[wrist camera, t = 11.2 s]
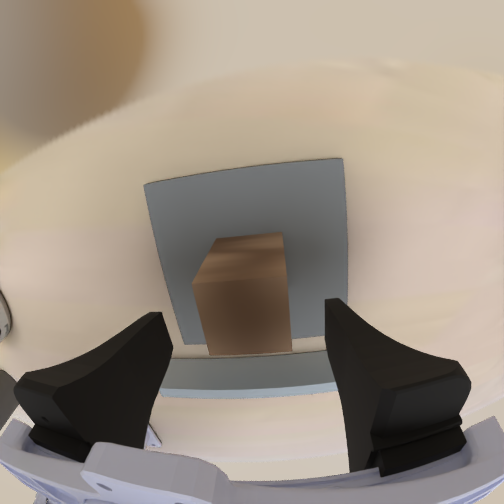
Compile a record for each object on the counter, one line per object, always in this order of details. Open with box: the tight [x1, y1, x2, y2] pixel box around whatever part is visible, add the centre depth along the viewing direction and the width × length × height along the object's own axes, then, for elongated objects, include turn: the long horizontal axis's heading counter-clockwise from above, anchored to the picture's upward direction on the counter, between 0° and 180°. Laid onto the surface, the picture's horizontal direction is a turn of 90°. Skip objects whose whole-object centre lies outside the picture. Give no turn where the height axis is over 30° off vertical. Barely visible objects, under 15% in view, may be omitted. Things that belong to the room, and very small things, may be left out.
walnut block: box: [192, 232, 292, 355], centre depth 15 cm, size 4×4×6 cm
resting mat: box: [144, 158, 348, 345], centre depth 19 cm, size 12×12×1 cm
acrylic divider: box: [159, 350, 338, 399], centre depth 20 cm, size 16×1×4 cm, turn 98°
